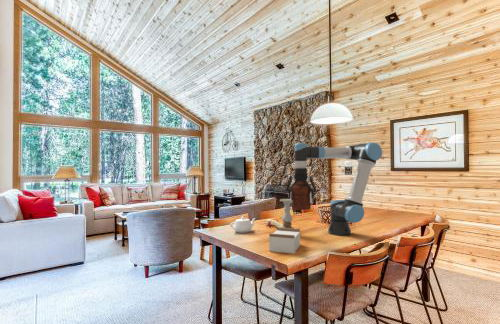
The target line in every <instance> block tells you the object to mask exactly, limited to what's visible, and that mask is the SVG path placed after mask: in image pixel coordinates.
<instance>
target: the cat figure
mask: <svg viewBox="0 0 500 324" xmlns="http://www.w3.org/2000/svg"><path fill="white" fill-rule="evenodd" d="M282 222H283V223H284V221H283V220H282ZM283 223H281V222H279V220H278V219H276V220H273V219H271V218H268V219H265V220H264V224H265V226H268V227H269V228H271V226H275V227H276V228H277V227H278V228H282V227H283V226H284V225H283Z"/></svg>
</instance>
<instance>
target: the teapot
mask: <svg viewBox="0 0 500 324" xmlns="http://www.w3.org/2000/svg"><path fill="white" fill-rule="evenodd" d="M256 218H257V217H254V218H252V220H251V219H249V218H245V217H244V216H241V217H240V218H237V219H235V221H233V222H230V225H229V226H230V228H232V230H234V231H235V232H236V233H240V234H242V233H244V234H245V233H246V234H247V233H249V232H251V230H253V226H254V223H255V221H256V220H255V219H256Z"/></svg>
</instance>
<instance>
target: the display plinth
mask: <svg viewBox="0 0 500 324" xmlns="http://www.w3.org/2000/svg"><path fill="white" fill-rule="evenodd" d="M293 228H294V227H293ZM293 228H279V227H277V226H276V230H275V231H274V232H272V233H268V234H269V237H268V243H269V244H268V246H269V247H268V251H269V252H273V253H274V252H275V253H285V254H295V253H296V252H297V250H298V249H299V247H300V246H301V228H294V229H293Z"/></svg>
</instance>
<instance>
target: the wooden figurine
mask: <svg viewBox="0 0 500 324" xmlns="http://www.w3.org/2000/svg"><path fill="white" fill-rule="evenodd" d="M292 185H293V184H292ZM292 185H291V187H292V188H291V187H290V188H291V199H292V200H293V202H292V203H291V210H293V211H305V210H306V211H308V210H310V209H311V205H312V203H310V192H311V191H310V190H309V188H308V187H307V185H306V184H305V183H304V182H303V181H298V182H297V183H295V185H293V186H292Z"/></svg>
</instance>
